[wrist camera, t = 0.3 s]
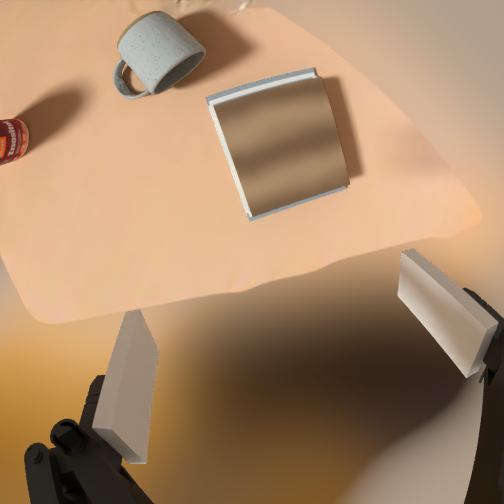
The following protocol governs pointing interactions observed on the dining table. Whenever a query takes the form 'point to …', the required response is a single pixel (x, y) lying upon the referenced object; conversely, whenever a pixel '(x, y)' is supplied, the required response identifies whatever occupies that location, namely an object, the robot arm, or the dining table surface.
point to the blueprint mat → (249, 90)
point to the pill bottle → (12, 140)
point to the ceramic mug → (156, 53)
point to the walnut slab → (283, 144)
